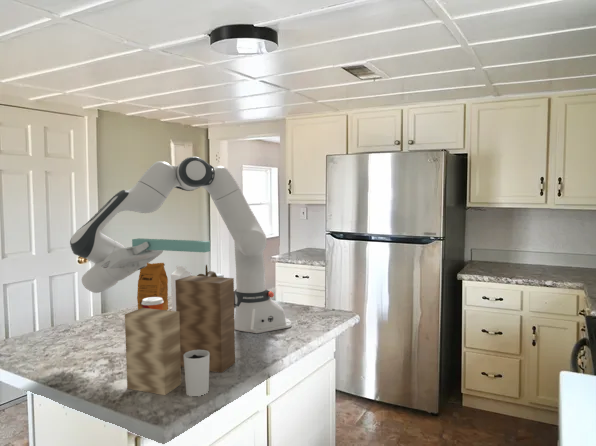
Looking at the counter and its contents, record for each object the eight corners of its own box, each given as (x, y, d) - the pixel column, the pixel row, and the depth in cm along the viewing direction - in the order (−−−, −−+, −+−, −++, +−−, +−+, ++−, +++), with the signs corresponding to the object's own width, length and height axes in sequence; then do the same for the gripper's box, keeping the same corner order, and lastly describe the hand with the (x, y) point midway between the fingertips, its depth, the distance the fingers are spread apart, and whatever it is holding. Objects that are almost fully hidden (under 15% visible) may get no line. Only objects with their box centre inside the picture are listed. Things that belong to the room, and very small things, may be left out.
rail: (132, 248, 141) (132, 239, 141) (138, 247, 144) (138, 238, 144) (204, 252, 132) (204, 242, 132) (210, 251, 135) (210, 241, 135)
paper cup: (158, 341, 158) (156, 301, 157) (138, 340, 160) (136, 301, 159) (168, 334, 166) (167, 296, 165) (149, 333, 167) (148, 296, 166)
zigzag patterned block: (127, 388, 120) (124, 314, 119) (144, 378, 127) (142, 307, 125) (165, 395, 116) (162, 318, 115) (181, 384, 122) (179, 311, 121)
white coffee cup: (179, 395, 116) (178, 356, 115) (193, 384, 122) (193, 348, 121) (201, 399, 114) (200, 360, 113) (215, 388, 120) (214, 351, 119)
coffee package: (147, 308, 203) (146, 260, 202) (171, 310, 200) (170, 261, 198) (133, 314, 194) (131, 263, 193) (158, 316, 190) (156, 264, 189)
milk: (183, 316, 190) (182, 264, 188) (193, 319, 186) (192, 265, 185) (171, 320, 185) (170, 266, 183) (181, 322, 181) (180, 267, 180)
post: (177, 366, 135) (175, 280, 133) (192, 357, 143) (190, 275, 141) (221, 372, 130) (220, 283, 128) (235, 362, 138) (233, 278, 136)
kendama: (195, 311, 198) (194, 265, 197) (207, 305, 207) (206, 262, 206) (207, 312, 196) (206, 266, 195) (218, 306, 205) (217, 263, 204)
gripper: (93, 258, 135) (125, 237, 131) (139, 250, 155) (168, 231, 150) (102, 277, 135) (134, 256, 130) (147, 266, 154) (177, 248, 149)
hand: (153, 242), depth 140 cm, fingers closed on rail, 3 cm apart
